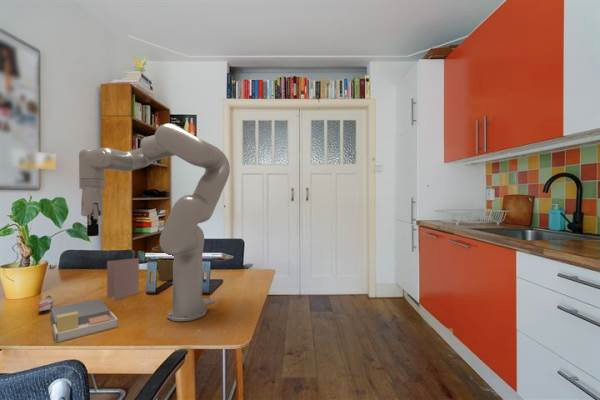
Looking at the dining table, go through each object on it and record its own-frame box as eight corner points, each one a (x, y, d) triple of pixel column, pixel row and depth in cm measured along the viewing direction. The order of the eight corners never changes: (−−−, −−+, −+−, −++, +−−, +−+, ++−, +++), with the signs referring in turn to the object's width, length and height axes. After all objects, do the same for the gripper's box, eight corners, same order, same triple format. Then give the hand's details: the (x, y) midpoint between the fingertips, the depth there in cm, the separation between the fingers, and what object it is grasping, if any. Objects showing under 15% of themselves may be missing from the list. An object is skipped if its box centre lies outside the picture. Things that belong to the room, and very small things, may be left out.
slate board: (99, 307, 110) (99, 299, 110) (109, 319, 99) (109, 310, 99) (50, 317, 101) (50, 308, 101) (55, 332, 89) (55, 322, 89)
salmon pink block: (110, 318, 92) (110, 327, 92) (107, 314, 95) (107, 322, 95) (91, 323, 88) (91, 332, 88) (88, 318, 92) (88, 326, 92)
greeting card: (138, 292, 128) (138, 257, 128) (140, 296, 122) (140, 260, 122) (106, 297, 122) (107, 260, 122) (107, 302, 116) (107, 263, 116)
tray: (111, 318, 99) (111, 311, 99) (117, 327, 93) (117, 319, 93) (53, 332, 89) (53, 324, 89) (55, 343, 82) (56, 334, 82)
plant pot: (188, 278, 151) (189, 247, 151) (158, 284, 140) (158, 250, 140) (177, 273, 161) (177, 244, 161) (148, 278, 151) (148, 247, 151)
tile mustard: (77, 311, 92) (78, 313, 90) (77, 327, 92) (78, 330, 90) (56, 315, 88) (56, 317, 86) (56, 332, 88) (56, 334, 86)
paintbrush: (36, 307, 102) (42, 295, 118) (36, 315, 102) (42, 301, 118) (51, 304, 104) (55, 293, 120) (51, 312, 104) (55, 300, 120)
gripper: (75, 185, 108) (76, 235, 108) (83, 183, 98) (84, 238, 98) (99, 186, 114) (100, 233, 114) (109, 183, 103) (110, 236, 103)
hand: (92, 235), depth 106 cm, fingers closed
